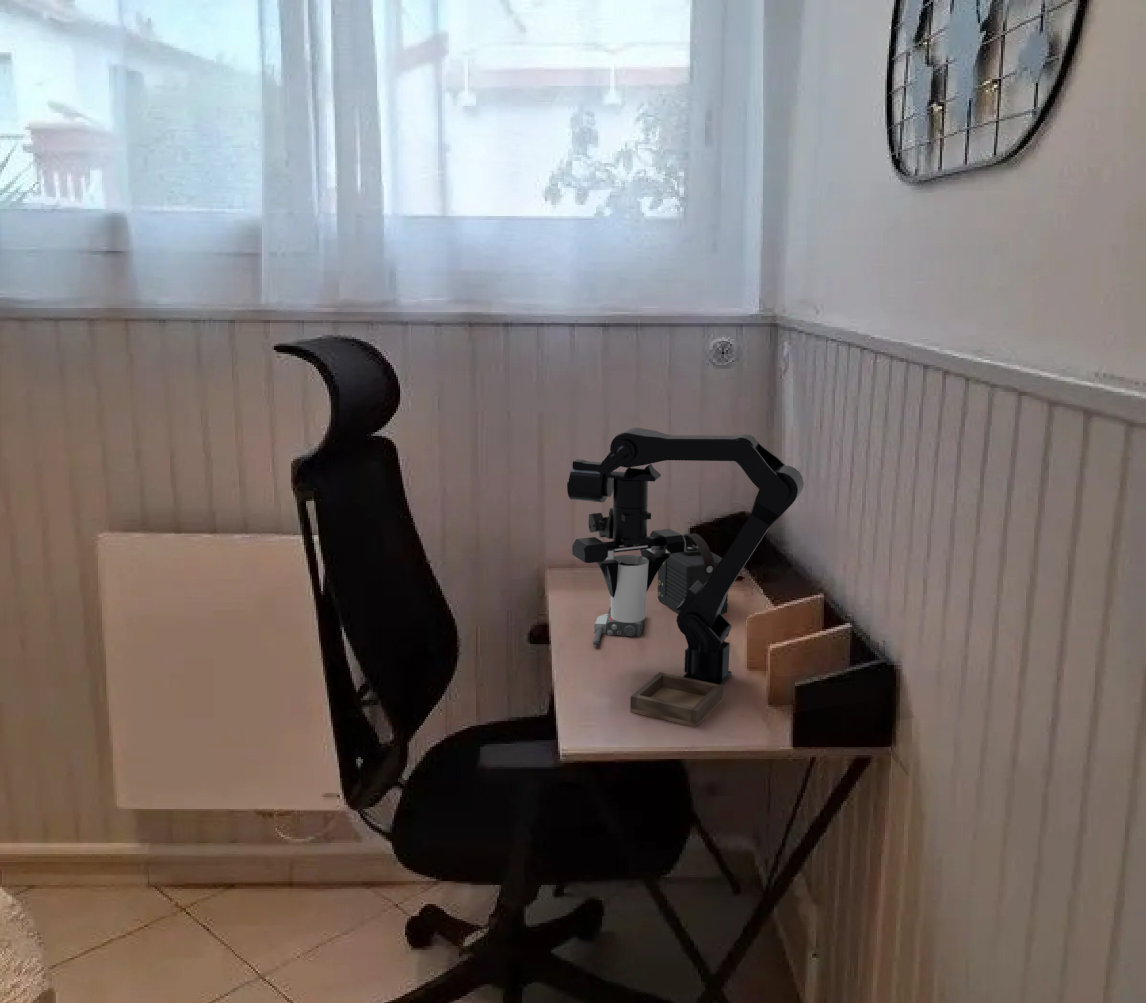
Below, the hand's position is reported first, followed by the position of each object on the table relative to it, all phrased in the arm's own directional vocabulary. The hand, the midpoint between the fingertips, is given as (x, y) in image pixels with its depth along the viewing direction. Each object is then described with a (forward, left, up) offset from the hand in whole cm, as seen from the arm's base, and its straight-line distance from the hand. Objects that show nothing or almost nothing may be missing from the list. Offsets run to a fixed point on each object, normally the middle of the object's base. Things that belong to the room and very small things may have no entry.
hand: (628, 594), depth 177 cm
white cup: (0, 0, -4) cm, 4 cm away
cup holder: (-14, +11, -13) cm, 22 cm away
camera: (+2, -35, -13) cm, 37 cm away
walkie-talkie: (+9, -15, -14) cm, 22 cm away
